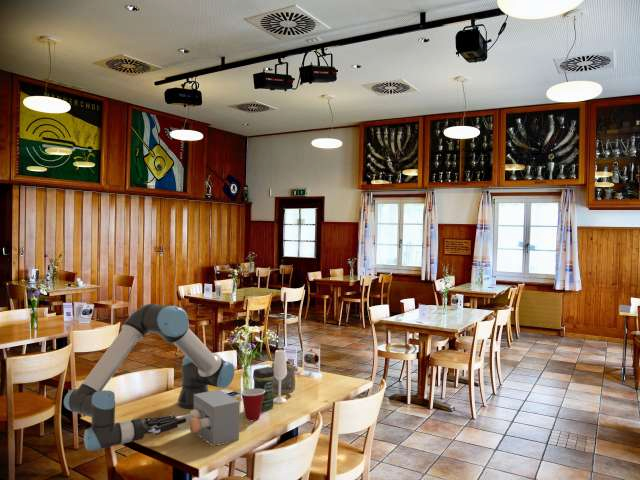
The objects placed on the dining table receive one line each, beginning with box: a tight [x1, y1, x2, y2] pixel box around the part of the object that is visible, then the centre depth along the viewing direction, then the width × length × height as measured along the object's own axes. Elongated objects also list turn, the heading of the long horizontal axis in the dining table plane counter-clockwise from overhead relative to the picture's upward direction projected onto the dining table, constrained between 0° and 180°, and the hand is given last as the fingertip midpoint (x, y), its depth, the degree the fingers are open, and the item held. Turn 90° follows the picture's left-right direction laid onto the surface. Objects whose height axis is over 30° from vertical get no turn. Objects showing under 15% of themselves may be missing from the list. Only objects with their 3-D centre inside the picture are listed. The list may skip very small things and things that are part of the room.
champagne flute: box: [273, 349, 287, 404], centre depth 241 cm, size 7×7×24 cm
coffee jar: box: [252, 366, 274, 412], centre depth 230 cm, size 10×8×19 cm
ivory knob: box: [189, 409, 201, 419], centre depth 200 cm, size 5×11×5 cm, turn 128°
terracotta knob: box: [188, 417, 211, 434], centre depth 191 cm, size 5×11×5 cm, turn 128°
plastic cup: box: [240, 388, 265, 422], centre depth 217 cm, size 11×11×12 cm
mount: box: [193, 389, 241, 447], centre depth 198 cm, size 18×11×15 cm, turn 38°
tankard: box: [271, 360, 299, 395], centre depth 255 cm, size 20×13×15 cm, turn 33°
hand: (192, 417), depth 196 cm, fingers closed
